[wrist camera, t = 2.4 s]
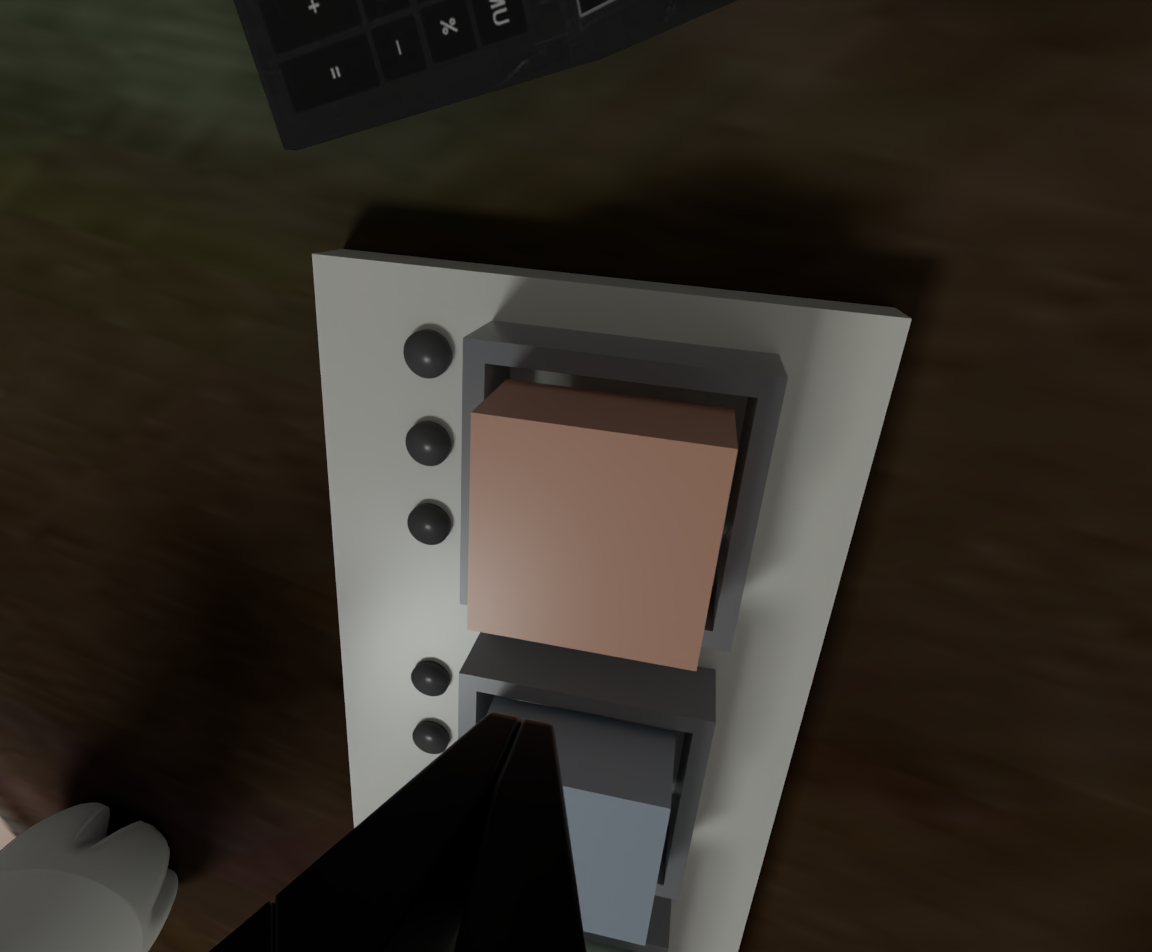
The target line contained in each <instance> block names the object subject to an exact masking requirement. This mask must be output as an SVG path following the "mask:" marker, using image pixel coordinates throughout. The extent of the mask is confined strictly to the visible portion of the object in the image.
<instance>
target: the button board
mask: <svg viewBox="0 0 1152 952" xmlns="http://www.w3.org/2000/svg"><path fill="white" fill-rule="evenodd" d="M312 261H313V274H314V288H315V302H316V315H317V329H318V342H319V356H320V370H321V383H322V397H323V411H324V424H325V438H326V452H327V465H328V479H329V493H330V506H331V520H332V533H333V547H334V561H335V574H336V588H337V602H338V615H339V629H340V643H341V656H342V670H343V683H344V697H345V711H346V724H347V738H348V752H349V765H350V779H351V793H352V806H353V820H354V828H355V827H356V826H358V825H359V824H360V823H361V822H362V821H363V820H365V819H366V818H367V817H368V816H369V815H370V814H372V813H373V812H374V811H375V810H376V809H377V808H379V807H380V806H381V805H382V804H383V803H384V802H386V801H387V800H388V799H389V798H390V797H391V796H393V795H394V794H395V793H396V792H397V791H398V790H400V789H401V788H402V787H403V786H404V785H405V784H407V783H408V782H409V781H410V780H411V779H412V778H414V777H415V776H416V775H417V774H418V773H419V772H421V771H422V770H423V769H424V768H425V767H426V766H428V765H429V764H430V763H431V762H432V761H433V760H435V759H436V758H437V757H438V756H439V755H440V754H442V753H443V752H444V751H445V750H446V749H447V748H449V747H450V746H451V745H452V744H453V743H454V742H456V741H457V740H458V739H459V738H460V737H461V736H463V735H464V734H465V733H466V732H467V731H468V730H470V729H471V728H472V727H473V726H474V725H475V724H476V723H478V722H479V721H480V720H481V719H482V718H483V717H485V716H486V715H487V712H488V710H489V708H490V705H491V703H492V701H493V698H494V696H499V697H504V698H509V699H514V700H519V701H524V702H529V703H534V704H539V705H544V706H550V707H555V708H560V709H565V710H570V711H575V712H580V713H585V714H590V715H595V716H601V717H606V718H611V719H616V720H621V721H626V722H631V723H636V724H641V725H646V726H652V727H657V728H662V729H667V730H672V731H676V741H675V755H674V769H673V784H672V798H671V810H670V815H669V821H668V826H667V831H666V837H665V842H664V847H663V853H662V858H661V864H660V869H659V874H658V880H657V885H656V890H655V896H654V901H653V906H652V912H651V917H650V922H649V928H648V933H647V938H646V944H645V946H643V945H639V944H635V943H631V942H627V941H622V940H618V939H614V938H610V937H606V936H602V935H598V934H593V933H589V932H585V931H583V932H584V939H587V940H591V941H595V942H599V943H603V944H607V945H612V946H616V947H620V948H624V949H628V950H632V951H636V952H738V950H739V947H740V943H741V939H742V936H743V932H744V928H745V925H746V921H747V917H748V914H749V910H750V906H751V903H752V899H753V896H754V892H755V888H756V885H757V881H758V877H759V874H760V870H761V866H762V863H763V859H764V855H765V852H766V848H767V844H768V841H769V837H770V834H771V830H772V826H773V823H774V819H775V815H776V812H777V808H778V804H779V801H780V797H781V793H782V790H783V786H784V783H785V779H786V775H787V772H788V768H789V764H790V761H791V757H792V753H793V750H794V746H795V742H796V739H797V735H798V731H799V728H800V724H801V721H802V717H803V713H804V710H805V706H806V702H807V699H808V695H809V691H810V688H811V684H812V680H813V677H814V673H815V670H816V666H817V662H818V659H819V655H820V651H821V648H822V644H823V640H824V637H825V633H826V629H827V626H828V622H829V618H830V615H831V611H832V608H833V604H834V600H835V597H836V593H837V589H838V586H839V582H840V578H841V575H842V571H843V567H844V564H845V560H846V557H847V553H848V549H849V546H850V542H851V538H852V535H853V531H854V527H855V524H856V520H857V516H858V513H859V509H860V505H861V502H862V498H863V495H864V491H865V487H866V484H867V480H868V476H869V473H870V469H871V465H872V462H873V458H874V454H875V451H876V447H877V443H878V440H879V436H880V433H881V429H882V425H883V422H884V418H885V414H886V411H887V407H888V403H889V400H890V396H891V392H892V389H893V385H894V382H895V378H896V374H897V371H898V367H899V363H900V360H901V356H902V352H903V349H904V345H905V341H906V338H907V334H908V330H909V327H910V323H911V320H912V318H910V317H909V316H907V315H906V314H904V313H903V312H901V311H900V310H898V309H897V308H894V307H885V306H876V305H866V304H857V303H847V302H838V301H828V300H819V299H810V298H800V297H791V296H781V295H772V294H762V293H753V292H744V291H734V290H725V289H715V288H706V287H697V286H687V285H678V284H668V283H659V282H649V281H640V280H631V279H621V278H612V277H602V276H593V275H584V274H574V273H565V272H555V271H546V270H536V269H527V268H518V267H508V266H499V265H489V264H480V263H470V262H461V261H452V260H442V259H433V258H423V257H414V256H405V255H395V254H386V253H376V252H367V251H357V250H348V249H339V250H332V251H326V252H320V253H314V254H312ZM507 379H511V380H519V381H526V382H534V383H542V384H550V385H557V386H565V387H573V388H580V389H588V390H596V391H604V392H611V393H619V394H627V395H635V396H642V397H650V398H658V399H665V400H673V401H681V402H689V403H696V404H704V405H712V406H719V407H727V408H734V411H735V422H736V433H737V444H738V452H737V457H736V463H735V468H734V473H733V479H732V484H731V489H730V495H729V500H728V505H727V511H726V516H725V521H724V527H723V532H722V537H721V543H720V548H719V553H718V559H717V564H716V570H715V575H714V580H713V586H712V591H711V596H710V602H709V607H708V612H707V618H706V623H705V628H704V634H703V639H702V644H701V650H700V655H699V660H698V666H697V671H691V670H685V669H680V668H675V667H669V666H664V665H658V664H653V663H647V662H642V661H636V660H631V659H625V658H620V657H614V656H609V655H604V654H598V653H593V652H587V651H582V650H576V649H571V648H565V647H560V646H554V645H549V644H544V643H538V642H533V641H527V640H522V639H516V638H511V637H505V636H500V635H494V634H489V633H484V632H478V631H473V630H467V603H468V546H469V490H470V433H471V412H472V411H473V410H474V409H475V408H476V407H477V406H478V405H479V404H481V403H482V402H483V401H484V400H485V399H486V398H487V397H488V396H489V395H490V394H491V393H492V392H494V391H495V390H496V389H497V388H498V387H499V386H500V385H501V384H502V383H503V382H504V381H505V380H507Z"/></svg>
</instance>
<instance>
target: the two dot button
mask: <svg viewBox="0 0 1152 952" xmlns="http://www.w3.org/2000/svg"><path fill="white" fill-rule="evenodd" d="M491 712H499V713H504V714H509V715H514V716H518V717H519V718H520V719H521V722H522V721H523V720H524V719H526V718H530V719H535V720H540V721H545V722H549V723H552V724H553V726H554V728H555V735H556V742H557V749H558V756H559V763H560V770H561V777H562V784H563V791H564V798H565V805H566V812H567V819H568V826H569V833H570V840H571V847H572V854H573V861H574V868H575V875H576V882H577V889H578V897H579V904H580V911H581V918H582V925H583V931H585V932H589V933H593V934H598V935H602V936H606V937H610V938H614V939H618V940H622V941H627V942H631V943H635V944H639V945H643V946H645V944H646V938H647V933H648V928H649V922H650V917H651V912H652V906H653V901H654V896H655V890H656V885H657V880H658V874H659V869H660V864H661V858H662V853H663V847H664V842H665V837H666V831H667V826H668V821H669V815H670V810H671V798H672V784H673V769H674V755H675V741H676V731H672V730H667V729H662V728H657V727H652V726H646V725H641V724H636V723H631V722H626V721H621V720H616V719H611V718H606V717H601V716H595V715H590V714H585V713H580V712H575V711H570V710H565V709H560V708H555V707H550V706H544V705H539V704H534V703H529V702H524V701H519V700H514V699H509V698H504V697H499V696H494V698H493V701H492V703H491V705H490V708H489V710H488V712H487V714H488V713H491Z"/></svg>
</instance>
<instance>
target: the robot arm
mask: <svg viewBox="0 0 1152 952" xmlns="http://www.w3.org/2000/svg"><path fill="white" fill-rule="evenodd" d="M209 952H586V946H585V939H584V932H583V925H582V918H581V911H580V904H579V897H578V889H577V882H576V875H575V868H574V861H573V854H572V847H571V840H570V833H569V826H568V819H567V812H566V805H565V798H564V791H563V784H562V777H561V770H560V763H559V756H558V749H557V742H556V735H555V728H554V726H553V724H552V723H549V722H545V721H540V720H535V719H530V718H526V719H524V720H523V721H522V722H521V719H520V718H519V717H518V716H514V715H509V714H504V713H499V712H491V713H488V714H487V715H486V716H485V717H483V718H482V719H481V720H480V721H479V722H478V723H476V724H475V725H474V726H473V727H472V728H471V729H470V730H468V731H467V732H466V733H465V734H464V735H463V736H461V737H460V738H459V739H458V740H457V741H456V742H454V743H453V744H452V745H451V746H450V747H449V748H447V749H446V750H445V751H444V752H443V753H442V754H440V755H439V756H438V757H437V758H436V759H435V760H433V761H432V762H431V763H430V764H429V765H428V766H426V767H425V768H424V769H423V770H422V771H421V772H419V773H418V774H417V775H416V776H415V777H414V778H412V779H411V780H410V781H409V782H408V783H407V784H405V785H404V786H403V787H402V788H401V789H400V790H398V791H397V792H396V793H395V794H394V795H393V796H391V797H390V798H389V799H388V800H387V801H386V802H384V803H383V804H382V805H381V806H380V807H379V808H377V809H376V810H375V811H374V812H373V813H372V814H370V815H369V816H368V817H367V818H366V819H365V820H363V821H362V822H361V823H360V824H359V825H358V826H356V827H355V828H354V829H353V830H352V831H351V832H349V833H348V834H347V835H346V836H345V837H344V838H342V839H341V840H340V841H339V842H338V843H337V844H335V845H334V846H333V847H332V848H331V849H330V850H328V851H327V852H326V853H325V854H324V855H323V856H321V857H320V858H319V859H318V860H317V861H316V862H314V863H313V864H312V865H311V866H310V867H309V868H307V869H306V870H305V871H304V872H303V873H302V874H300V875H299V876H298V877H297V878H296V879H295V880H294V881H292V882H291V883H290V884H289V885H288V886H287V887H285V888H284V889H283V890H282V891H281V892H280V893H278V894H277V895H276V896H275V899H274V903H273V902H271V901H270V902H267V903H266V904H265V905H264V906H263V907H262V908H260V909H259V910H258V911H257V912H256V913H255V914H253V915H252V916H251V917H250V918H249V919H248V920H246V921H245V922H244V923H243V924H242V925H241V926H239V927H238V928H237V929H236V930H235V931H233V932H232V933H231V934H230V935H228V936H227V937H226V938H225V939H224V940H222V941H221V942H220V943H219V944H218V945H216V946H215V947H214V948H213V949H211V950H210V951H209Z"/></svg>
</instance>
